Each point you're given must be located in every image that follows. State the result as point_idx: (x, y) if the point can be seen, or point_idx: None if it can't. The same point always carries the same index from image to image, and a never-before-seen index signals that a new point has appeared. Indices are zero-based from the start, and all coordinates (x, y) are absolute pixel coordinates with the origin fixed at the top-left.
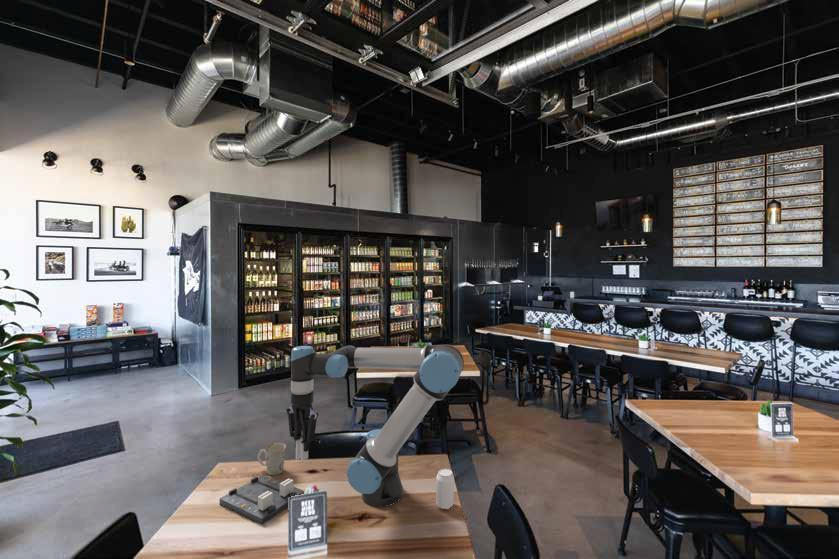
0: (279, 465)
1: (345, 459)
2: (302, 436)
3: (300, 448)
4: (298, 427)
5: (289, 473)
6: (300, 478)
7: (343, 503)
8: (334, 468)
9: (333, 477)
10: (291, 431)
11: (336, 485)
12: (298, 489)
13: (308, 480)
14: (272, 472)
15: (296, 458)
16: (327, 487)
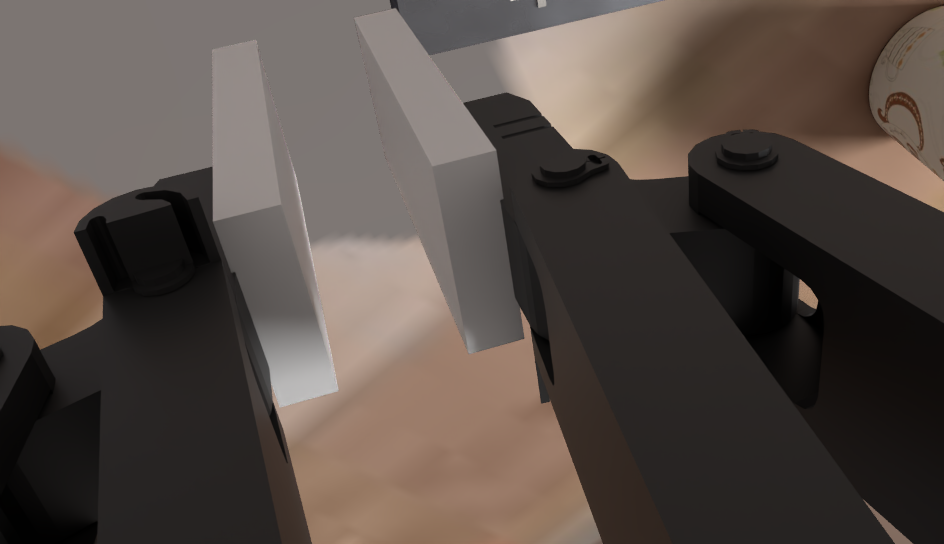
0: (918, 101)
1: (583, 526)
2: (239, 337)
3: (405, 172)
4: (623, 485)
5: None
6: (661, 169)
7: (21, 234)
8: (551, 423)
9: (449, 361)
10: (811, 218)
11: (327, 324)
12: (472, 33)
13: None
14: (923, 28)
15: (376, 19)
16: (359, 259)
